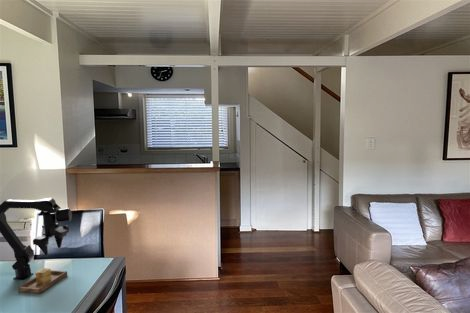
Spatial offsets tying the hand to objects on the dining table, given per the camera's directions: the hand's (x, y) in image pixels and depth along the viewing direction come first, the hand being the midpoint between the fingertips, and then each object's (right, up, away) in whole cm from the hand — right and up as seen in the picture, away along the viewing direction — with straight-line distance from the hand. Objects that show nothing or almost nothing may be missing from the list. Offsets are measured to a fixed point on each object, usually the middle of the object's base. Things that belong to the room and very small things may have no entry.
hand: (53, 251), depth 171 cm
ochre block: (+1, -12, -10) cm, 16 cm away
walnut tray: (+1, -13, -10) cm, 17 cm away
